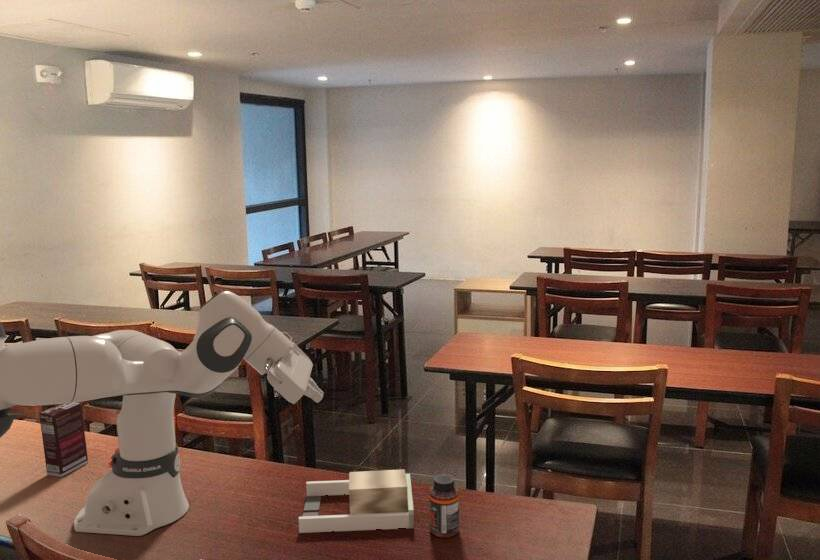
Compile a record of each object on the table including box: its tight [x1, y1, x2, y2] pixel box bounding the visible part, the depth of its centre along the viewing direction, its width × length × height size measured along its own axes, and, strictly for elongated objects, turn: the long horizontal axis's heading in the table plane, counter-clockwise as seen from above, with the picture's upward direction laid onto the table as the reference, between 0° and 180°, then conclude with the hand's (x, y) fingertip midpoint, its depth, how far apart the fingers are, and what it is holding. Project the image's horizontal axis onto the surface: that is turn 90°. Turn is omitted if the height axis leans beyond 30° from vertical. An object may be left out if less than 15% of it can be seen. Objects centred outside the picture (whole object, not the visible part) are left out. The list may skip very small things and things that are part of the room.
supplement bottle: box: [428, 473, 460, 539], centre depth 136 cm, size 6×6×11 cm
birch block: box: [348, 468, 408, 514], centre depth 146 cm, size 12×8×7 cm, turn 94°
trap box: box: [298, 473, 415, 534], centre depth 146 cm, size 23×16×4 cm
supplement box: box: [38, 402, 89, 478], centre depth 167 cm, size 9×5×16 cm, turn 159°
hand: (321, 398), depth 141 cm, fingers closed
